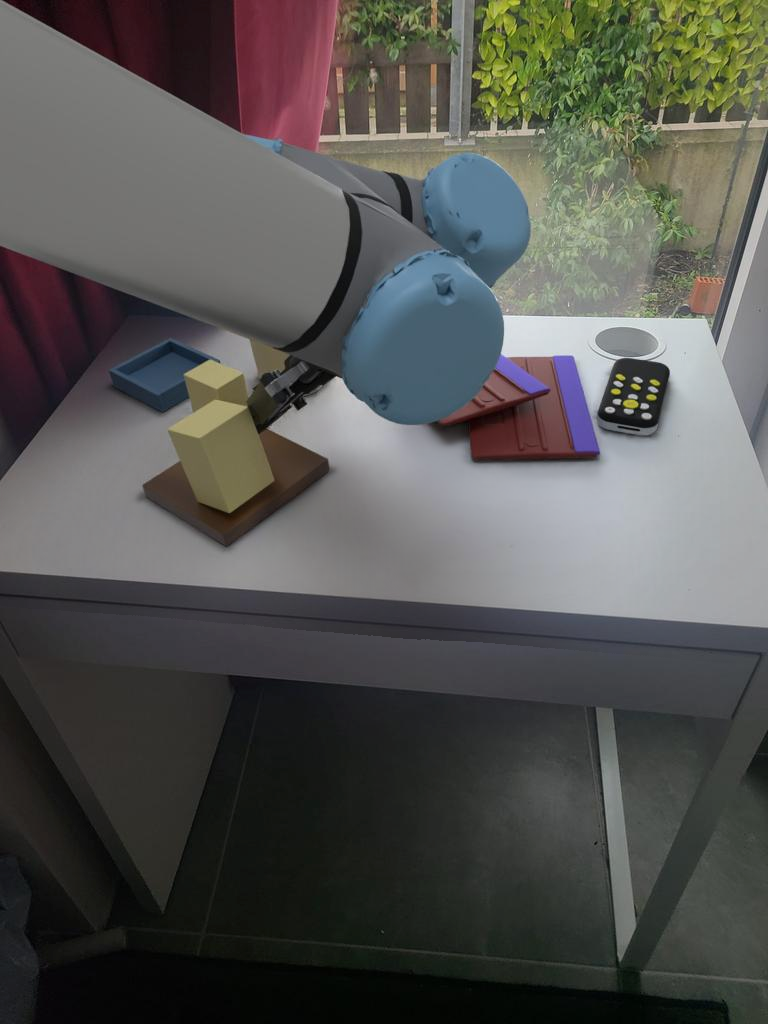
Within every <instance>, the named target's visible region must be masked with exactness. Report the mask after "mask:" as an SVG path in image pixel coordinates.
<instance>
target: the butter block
mask: <svg viewBox="0 0 768 1024" xmlns="http://www.w3.org/2000/svg"><path fill="white" fill-rule="evenodd" d="M166 431H167V433H168V436H169V438H170V441H171V443H172V445H173V447H174V450H175V451H176V454H177V457H178V459H179V461H181V464H182V466H183V468H184V471H185V473H186V475H187V478H188V480H189V483H190V485H191V487H192V490H193V492H194V494H195V497H196V499H197V501H198V502H200V503H202V504H205V505H208V506H211V507H213V508H216V509H219V510H222V511H224V512H227V513H231V512H232V511H234V510H235V509H236V508H238V507H239V506H240V505H242V504H243V503H245V502H246V501H247V500H249V499H250V498H251V497H253V496H254V495H256V494H257V493H258V492H260V491H261V490H262V489H264V488H265V487H267V486H268V485H269V484H271V483H272V482H273V481H274V477H273V475H272V472H271V469H270V466H269V463H268V461H267V458H266V455H265V452H264V449H263V447H262V444H261V441H260V438H259V435H258V433H257V430H256V427H255V424H254V422H253V419H252V416H251V413H250V410H249V408H248V407H247V406H242V405H238V404H233V403H229V402H224V401H219V400H214V401H212V402H210V403H209V404H207V405H205V406H204V407H202V408H201V409H199V410H197V411H196V412H192V413H191V414H189V415H188V416H186V417H184V418H183V419H181V420H180V421H178V422H176V423H174V424H173V425H171V426H170V427H168V428H167V429H166Z"/></svg>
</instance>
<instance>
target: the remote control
mask: <svg viewBox="0 0 768 1024" xmlns="http://www.w3.org/2000/svg"><path fill="white" fill-rule="evenodd" d="M670 375H671V370H670V368H669V366H668V365H666V364H664V363H662V362H659V361H652V360H646V359H640V358H632V357H621V358H618V359H617V360H615V362H613V365H612V369H611V371H610V374H609V377H608V380H607V384H606V385H605V389H604V391H603V395H602V397H601V401H600V403H599V407H598V409H597V414H596V422H597V424H598V425H599V427H601V428H602V429H605V430H608V431H613V432H618V433H619V432H620V433H624V434H630V435H637V436H649V435H651V434H653V433H655V431H657V429H658V426H659V421H660V417H661V414H662V408H663V405H664V401H665V396H666V393H667V388H668V383H669V380H670V377H671V376H670Z"/></svg>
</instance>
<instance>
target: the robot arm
mask: <svg viewBox="0 0 768 1024" xmlns="http://www.w3.org/2000/svg"><path fill="white" fill-rule="evenodd" d="M529 214H530V213H529V206H528V204H527V200H526V198H525V196H524V193H523V192H522V190H521V188H520V187H519V185H518V183H517V182H516V180H515V179H514V178H513V176H511V174H509V173H508V171H507V170H506V169H504V168H503V167H502V166H501V165H500V164H498V162H495V160H493V159H491V158H489V157H487V156H484V155H482V154H478V153H475V152H474V153H473V152H465V153H459V154H455V155H451V156H449V157H447V158H445V160H443V161H442V162H441V163H439V164H438V165H437V166H436V167H431V168H430V169H429V170H428V172H427V174H426V176H425V178H422V179H419V178H414V177H412V176H409V175H404V174H399V173H396V172H392V171H391V172H388V171H384V170H379V169H375V168H372V167H368V166H364V165H361V164H358V163H354V162H351V161H347V160H344V159H341V158H337V157H333V156H330V155H326V154H324V153H321V152H316V151H313V150H310V149H306V148H303V147H299V146H297V145H292V144H289V143H285V142H284V140H283V139H281V138H277V137H275V138H274V139H270V138H269V139H268V138H264V137H259V136H254V135H250V134H245V133H241V132H240V131H238V130H237V129H234V128H233V127H231V126H229V125H227V124H226V123H224V122H222V121H220V120H218V119H217V118H215V117H213V116H211V115H209V114H207V113H205V112H204V111H202V110H201V109H198V108H196V107H195V106H193V105H191V104H190V103H187V102H186V101H184V100H182V99H180V98H179V97H177V96H175V95H173V94H172V93H170V92H168V91H166V90H164V89H162V88H161V87H158V86H157V85H156V84H153V83H151V82H150V81H149V80H146V79H145V78H143V77H141V76H139V75H137V74H135V73H134V72H132V71H130V70H128V69H126V68H125V67H123V66H121V65H119V64H118V63H116V62H115V61H112V60H110V59H109V58H107V57H105V56H103V55H101V54H100V53H98V52H96V51H94V50H92V49H90V47H87V46H85V45H83V44H81V43H79V42H78V41H76V40H74V39H73V38H70V37H69V36H67V35H65V34H63V33H62V32H59V31H58V30H56V29H55V28H53V27H51V26H49V25H47V24H46V23H43V22H42V21H40V20H38V19H36V18H35V17H33V16H31V15H29V14H28V13H25V12H24V11H23V10H20V9H19V8H16V7H15V6H13V5H11V4H9V3H7V2H6V1H4V0H0V247H2V248H5V249H8V250H9V251H10V250H11V251H13V252H15V253H18V254H21V255H23V256H26V257H29V258H30V259H31V258H32V259H35V260H37V261H40V262H42V263H44V264H48V265H50V266H53V267H56V268H59V269H61V270H62V271H63V270H64V271H66V272H69V273H72V274H74V275H77V276H79V277H82V278H85V279H87V280H90V281H93V282H95V283H98V284H101V285H104V286H106V287H109V288H112V289H114V290H117V291H120V292H122V293H125V294H127V295H131V296H133V297H135V298H137V299H141V300H144V301H146V302H149V303H151V304H153V305H157V306H160V307H163V308H165V309H168V310H170V311H173V312H176V313H178V314H180V315H183V316H186V317H189V318H191V319H193V320H194V319H195V320H196V321H200V322H202V323H205V324H208V325H209V326H213V327H215V328H218V329H220V330H224V331H227V332H229V333H232V334H234V335H237V336H239V337H243V338H245V339H248V340H249V339H250V340H253V341H255V342H258V343H261V344H263V345H266V346H269V347H271V348H274V349H277V350H279V351H282V352H285V353H287V354H289V355H290V356H289V357H288V358H287V359H286V360H285V361H284V365H285V369H284V370H283V371H282V372H281V373H280V372H279V370H278V369H276V370H274V371H273V372H269V373H265V374H263V375H262V377H261V378H259V380H258V381H259V384H257V385H256V386H254V387H252V390H253V391H252V393H251V394H250V395H249V396H248V397H249V398H248V400H247V401H246V403H247V405H248V406H247V407H248V408H249V410H250V413H251V416H252V419H253V422H254V424H255V427H256V430H257V433H258V435H259V434H260V433H262V432H263V431H265V430H266V429H268V428H270V427H272V425H273V424H274V423H276V422H277V421H278V420H279V419H280V418H281V417H282V416H284V415H285V414H286V413H287V412H288V411H289V410H291V409H292V407H294V408H295V409H296V411H297V412H298V411H300V410H301V409H303V408H304V407H306V406H307V405H308V403H307V401H306V400H305V399H304V397H306V396H307V395H306V394H309V393H311V392H314V391H315V390H317V388H319V387H320V386H321V385H322V387H323V386H325V385H326V384H328V383H329V382H331V381H333V380H335V378H339V379H341V380H342V381H343V383H344V385H345V387H346V389H347V390H348V391H349V392H350V393H351V394H352V395H353V396H355V398H356V399H357V400H359V401H361V402H364V404H365V405H366V406H367V407H368V408H369V409H370V410H371V411H372V412H373V413H375V414H376V415H377V416H379V417H380V418H382V419H384V420H387V421H389V422H391V423H394V424H398V425H404V426H405V425H406V426H417V425H418V426H421V425H426V424H431V423H435V422H437V421H438V420H441V419H443V418H445V417H447V416H449V415H451V414H453V413H455V412H456V411H458V410H459V409H461V408H462V407H464V406H465V405H466V404H467V403H469V402H470V401H471V400H472V399H473V398H474V397H475V396H476V395H477V394H478V393H479V392H480V390H481V389H482V387H483V385H484V383H485V382H486V381H487V380H488V379H489V377H490V374H491V373H492V371H493V370H494V369H495V367H496V365H497V363H498V360H499V357H500V354H502V350H503V346H504V339H505V321H504V315H503V311H502V308H501V305H500V302H499V300H498V299H497V297H496V295H495V293H494V291H493V290H492V289H491V288H493V287H494V286H495V285H496V282H497V281H498V280H499V279H500V278H501V277H502V276H503V275H504V274H505V273H506V272H508V270H509V269H510V268H512V267H513V266H514V265H515V264H516V263H517V262H518V261H519V260H520V259H521V258H522V257H523V256H524V254H525V252H526V250H527V249H528V246H529V243H530V240H531V235H532V223H531V218H530V215H529ZM250 340H249V341H250ZM317 391H318V390H317ZM314 393H315V392H314ZM305 395H306V396H305ZM309 395H310V394H309ZM291 404H292V405H293V406H292V405H291Z"/></svg>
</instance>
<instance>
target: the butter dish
mask: <svg viewBox="0 0 768 1024" xmlns="http://www.w3.org/2000/svg"><path fill="white" fill-rule="evenodd" d="M208 360H213V361H215V362H218V363H220V364H222V363H221V360H220V359H217V358H216V357H214V356H211V355H210V354H208V353H205V352H203V351H201V350H198V349H196V348H195V347H192V346H189V345H187V344H185V343H183V342H181V341H179V340H177V339H174V338H173V337H168V338H167V339H165V340H163V341H161V342H159V343H158V344H155V345H154V346H151V347H150V348H148V349H145V350H144V351H142V352H140V353H139V354H137V355H135V356H132V357H131V358H129V359H126V360H124V361H122V362H121V363H119V364H117V365H115V366H114V367H112V368H109V369H108V373H109V375H110V379H111V381H112V385H113V387H114V388H116V389H118V390H119V391H121V392H123V393H124V394H125V393H126V394H127V395H129V396H131V397H133V398H135V399H137V400H138V401H140V402H142V403H144V404H146V405H148V406H150V407H151V408H153V409H156V410H157V411H159V412H161V413H164V412H166V411H168V410H169V409H171V408H173V407H174V406H176V405H177V404H179V403H181V402H183V401H184V400H186V399H187V398H188V399H189V398H190V397H189V394H188V390H187V386H186V382H185V379H184V374H185V373H187V372H189V371H190V370H192V369H194V368H196V367H197V366H199V365H201V364H203V363H205V362H206V361H208Z"/></svg>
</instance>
